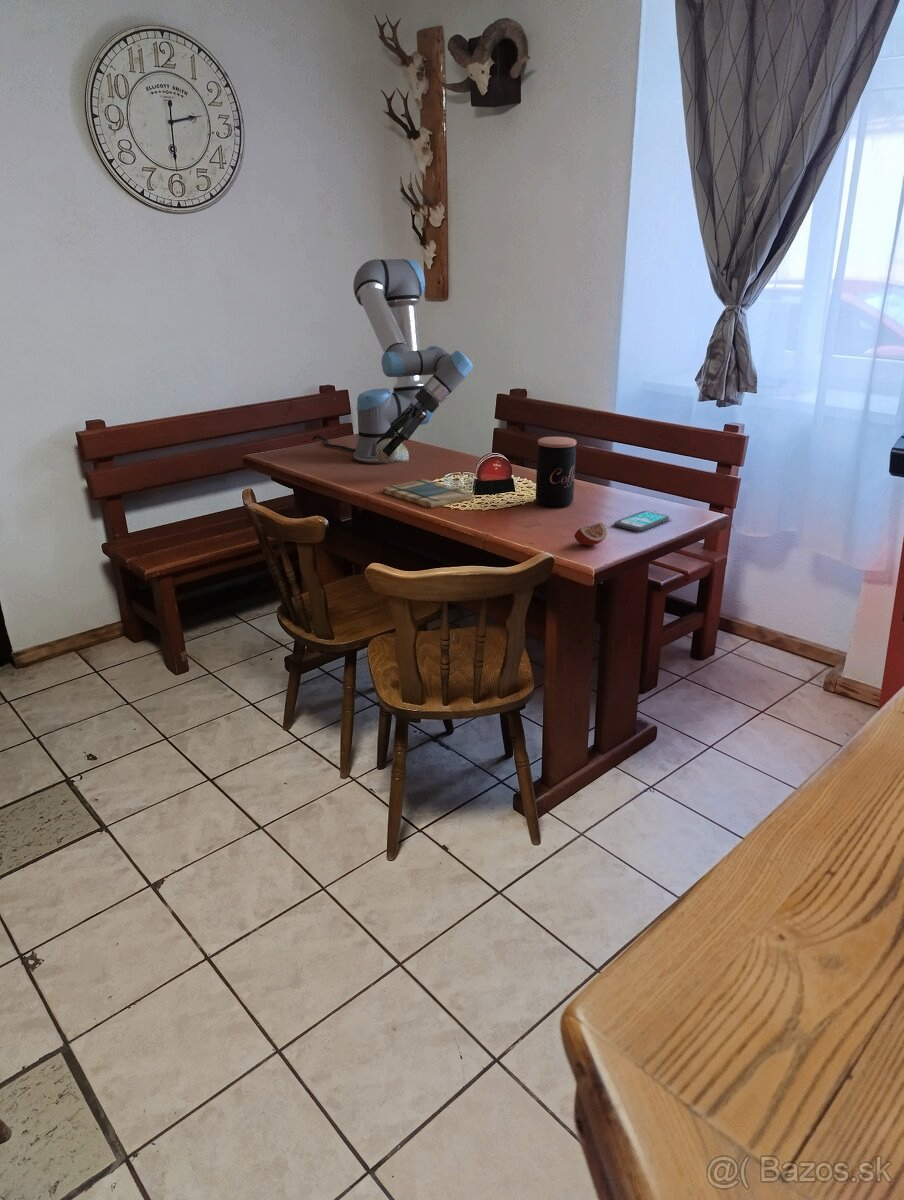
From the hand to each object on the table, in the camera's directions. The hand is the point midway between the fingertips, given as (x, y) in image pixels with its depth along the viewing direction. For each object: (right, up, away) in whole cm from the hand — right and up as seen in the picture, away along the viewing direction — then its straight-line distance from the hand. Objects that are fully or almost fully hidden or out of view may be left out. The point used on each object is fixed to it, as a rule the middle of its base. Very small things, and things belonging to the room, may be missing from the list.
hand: (382, 449), depth 251 cm
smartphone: (+72, -26, -36) cm, 85 cm away
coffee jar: (+51, -19, -19) cm, 57 cm away
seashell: (+3, -3, +3) cm, 5 cm away
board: (+14, -15, -11) cm, 24 cm away
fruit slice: (+55, -33, -53) cm, 83 cm away
